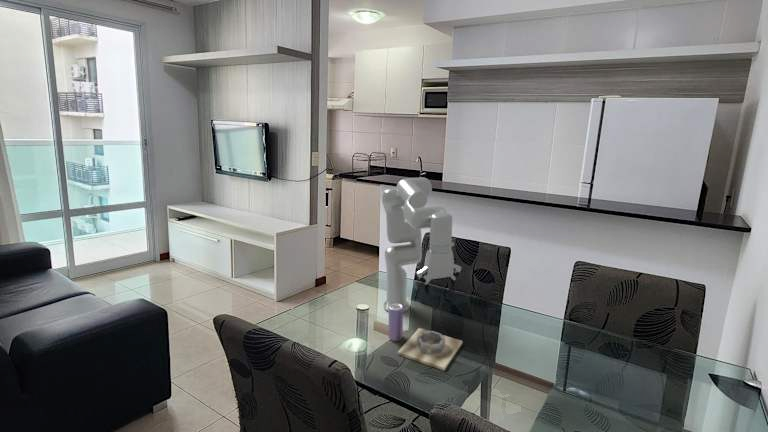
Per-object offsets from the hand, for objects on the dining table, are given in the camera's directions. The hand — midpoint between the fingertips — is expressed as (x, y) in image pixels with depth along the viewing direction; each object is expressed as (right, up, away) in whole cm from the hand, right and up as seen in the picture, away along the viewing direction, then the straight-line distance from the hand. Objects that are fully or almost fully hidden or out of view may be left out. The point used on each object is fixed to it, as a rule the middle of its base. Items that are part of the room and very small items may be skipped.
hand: (438, 290), depth 151 cm
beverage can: (-15, -25, +26) cm, 39 cm away
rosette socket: (-1, -27, +18) cm, 33 cm away
